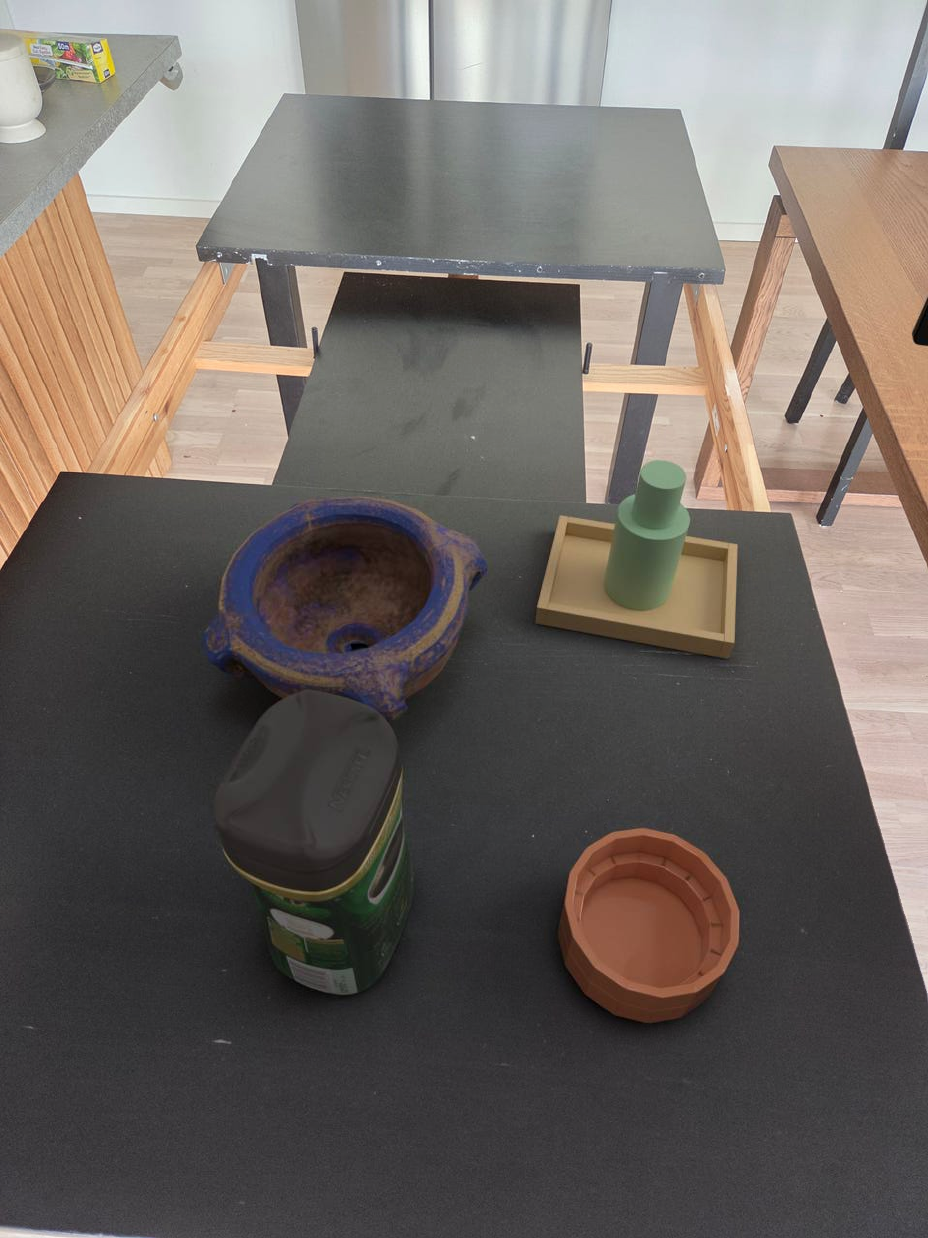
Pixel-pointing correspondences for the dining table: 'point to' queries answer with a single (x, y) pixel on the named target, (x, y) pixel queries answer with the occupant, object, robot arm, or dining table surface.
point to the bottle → (648, 538)
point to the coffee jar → (321, 838)
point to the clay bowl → (647, 924)
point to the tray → (683, 622)
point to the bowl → (345, 601)
